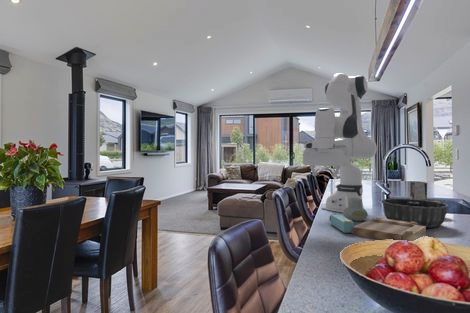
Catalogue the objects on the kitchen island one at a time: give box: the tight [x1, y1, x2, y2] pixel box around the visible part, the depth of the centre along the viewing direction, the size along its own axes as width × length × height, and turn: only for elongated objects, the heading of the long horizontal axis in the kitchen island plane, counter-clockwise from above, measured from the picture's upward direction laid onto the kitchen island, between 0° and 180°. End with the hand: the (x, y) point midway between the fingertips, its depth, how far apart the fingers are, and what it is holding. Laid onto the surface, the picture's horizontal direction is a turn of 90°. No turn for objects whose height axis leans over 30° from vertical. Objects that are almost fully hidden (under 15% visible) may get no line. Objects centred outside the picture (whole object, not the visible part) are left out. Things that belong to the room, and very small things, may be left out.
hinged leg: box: [328, 213, 355, 233], centre depth 145 cm, size 18×4×5 cm, turn 3°
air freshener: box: [342, 198, 368, 222], centre depth 163 cm, size 11×8×10 cm
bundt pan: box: [381, 198, 449, 229], centre depth 154 cm, size 26×26×10 cm
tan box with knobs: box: [351, 217, 427, 241], centre depth 135 cm, size 22×20×4 cm
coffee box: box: [408, 181, 428, 200], centre depth 183 cm, size 9×6×16 cm
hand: (324, 176), depth 151 cm, fingers open, 8 cm apart
